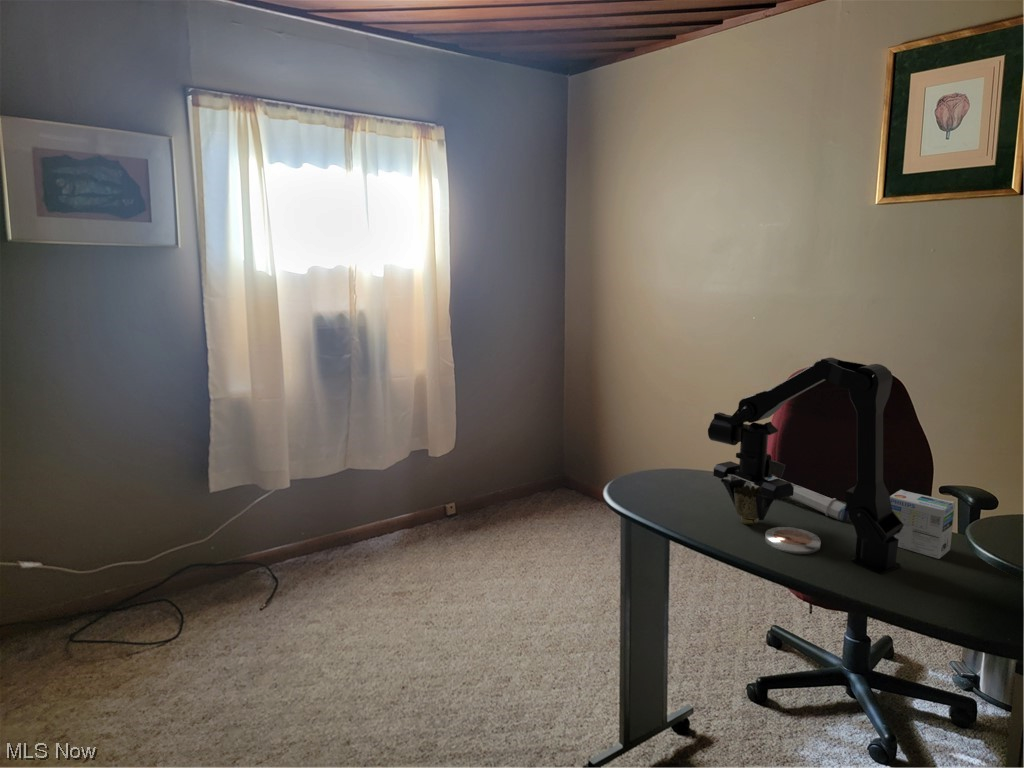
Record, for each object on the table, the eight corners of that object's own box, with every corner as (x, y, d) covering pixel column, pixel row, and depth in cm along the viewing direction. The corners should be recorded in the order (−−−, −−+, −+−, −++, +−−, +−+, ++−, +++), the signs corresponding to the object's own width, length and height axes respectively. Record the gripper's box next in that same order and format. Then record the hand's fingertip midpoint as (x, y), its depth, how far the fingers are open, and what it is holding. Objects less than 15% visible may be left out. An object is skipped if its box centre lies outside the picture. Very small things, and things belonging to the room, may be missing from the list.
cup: (728, 516, 157) (730, 484, 155) (760, 516, 157) (762, 484, 155) (737, 529, 150) (739, 496, 148) (770, 529, 149) (773, 496, 148)
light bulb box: (950, 550, 138) (957, 501, 136) (940, 560, 134) (946, 509, 132) (895, 534, 146) (900, 488, 144) (883, 543, 142) (888, 495, 140)
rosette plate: (831, 546, 140) (832, 541, 140) (795, 558, 135) (796, 552, 135) (789, 528, 150) (789, 522, 150) (753, 538, 145) (754, 532, 145)
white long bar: (841, 508, 152) (749, 466, 171) (834, 533, 154) (744, 489, 173) (853, 503, 155) (761, 462, 174) (847, 528, 157) (757, 485, 176)
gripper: (813, 455, 145) (808, 522, 148) (747, 435, 161) (744, 495, 164) (777, 463, 140) (772, 532, 143) (713, 441, 156) (710, 504, 159)
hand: (749, 514), depth 153 cm, fingers closed on cup, 6 cm apart
